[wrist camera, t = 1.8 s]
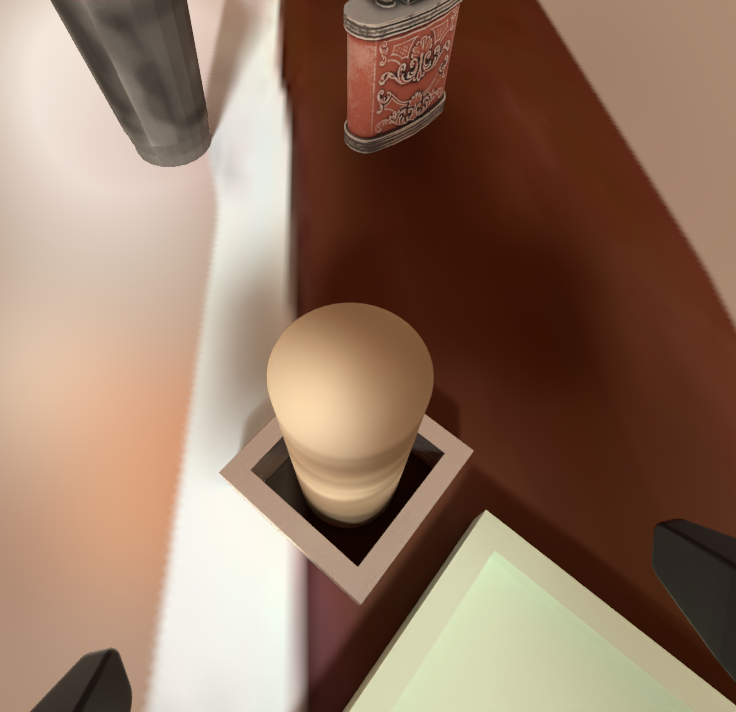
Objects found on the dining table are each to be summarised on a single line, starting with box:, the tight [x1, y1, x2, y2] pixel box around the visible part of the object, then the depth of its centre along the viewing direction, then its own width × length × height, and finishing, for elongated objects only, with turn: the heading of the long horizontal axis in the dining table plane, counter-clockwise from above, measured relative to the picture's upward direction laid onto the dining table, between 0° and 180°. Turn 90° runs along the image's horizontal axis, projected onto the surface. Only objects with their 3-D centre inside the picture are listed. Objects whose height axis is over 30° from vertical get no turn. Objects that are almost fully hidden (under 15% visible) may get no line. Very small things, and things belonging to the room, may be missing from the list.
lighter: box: [344, 0, 462, 153], centre depth 27 cm, size 8×3×10 cm, turn 133°
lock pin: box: [267, 303, 434, 528], centre depth 16 cm, size 4×4×10 cm
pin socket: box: [219, 414, 473, 606], centre depth 19 cm, size 7×7×2 cm
